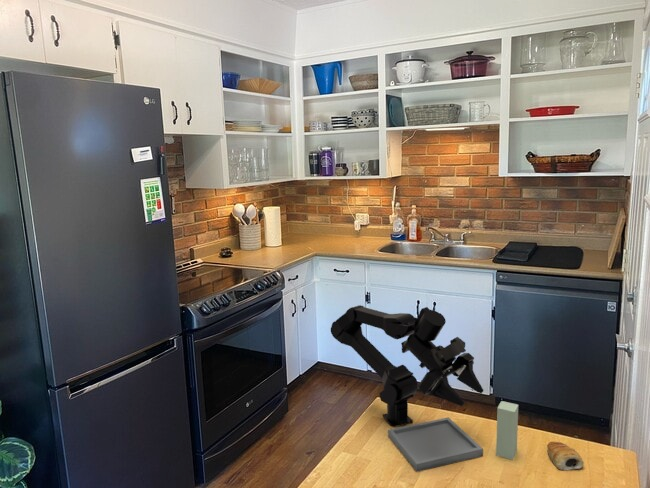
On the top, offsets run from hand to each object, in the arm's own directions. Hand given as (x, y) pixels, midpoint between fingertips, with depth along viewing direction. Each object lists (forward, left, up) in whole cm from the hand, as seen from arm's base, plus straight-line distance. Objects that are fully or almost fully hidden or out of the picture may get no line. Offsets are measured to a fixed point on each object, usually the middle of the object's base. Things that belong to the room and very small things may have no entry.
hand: (473, 398), depth 121 cm
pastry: (+9, +19, -15) cm, 26 cm away
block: (+2, +8, -15) cm, 17 cm away
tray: (-7, -7, -15) cm, 18 cm away
